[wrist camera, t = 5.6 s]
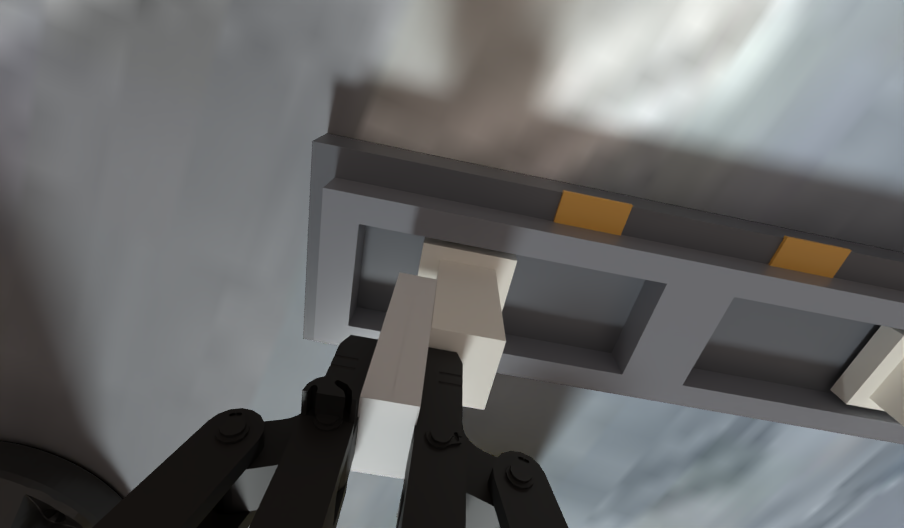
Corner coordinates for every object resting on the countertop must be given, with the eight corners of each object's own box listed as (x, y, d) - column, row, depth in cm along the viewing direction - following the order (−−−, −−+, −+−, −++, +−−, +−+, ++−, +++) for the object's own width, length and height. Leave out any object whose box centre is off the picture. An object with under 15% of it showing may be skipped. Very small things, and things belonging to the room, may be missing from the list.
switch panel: (315, 317, 23) (291, 359, 19) (327, 131, 18) (297, 145, 15) (877, 417, 25) (939, 470, 22) (1008, 272, 20) (1110, 311, 17)
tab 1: (411, 313, 20) (391, 407, 14) (425, 233, 18) (409, 307, 12) (492, 328, 20) (502, 425, 15) (514, 251, 18) (535, 330, 13)
